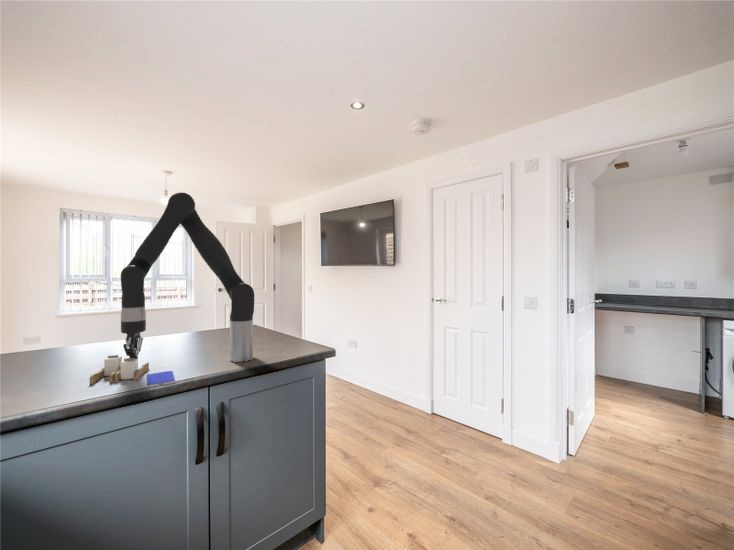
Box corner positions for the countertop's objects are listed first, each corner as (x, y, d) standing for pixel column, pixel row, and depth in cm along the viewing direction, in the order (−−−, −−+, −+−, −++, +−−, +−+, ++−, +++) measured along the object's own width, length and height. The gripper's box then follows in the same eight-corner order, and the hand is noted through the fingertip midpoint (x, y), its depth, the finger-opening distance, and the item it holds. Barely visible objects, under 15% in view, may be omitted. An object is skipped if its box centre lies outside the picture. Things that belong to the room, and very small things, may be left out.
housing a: (148, 368, 127) (148, 361, 127) (136, 380, 114) (136, 372, 114) (129, 370, 125) (129, 363, 125) (114, 382, 111) (114, 374, 111)
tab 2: (137, 374, 119) (137, 356, 118) (134, 378, 115) (134, 359, 115) (124, 376, 117) (124, 357, 117) (120, 379, 113) (120, 360, 113)
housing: (127, 370, 125) (127, 363, 124) (112, 382, 111) (112, 374, 111) (107, 372, 122) (107, 364, 122) (89, 384, 109) (89, 376, 109)
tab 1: (121, 371, 122) (121, 353, 122) (117, 374, 118) (117, 356, 118) (109, 372, 121) (109, 354, 121) (104, 375, 117) (104, 357, 117)
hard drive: (146, 374, 117) (146, 384, 107) (172, 370, 122) (175, 379, 112) (146, 378, 117) (146, 389, 107) (172, 374, 122) (175, 384, 112)
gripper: (139, 321, 115) (139, 370, 115) (150, 316, 127) (150, 360, 128) (114, 322, 112) (114, 372, 113) (128, 317, 125) (128, 361, 125)
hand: (133, 365), depth 120 cm, fingers closed
